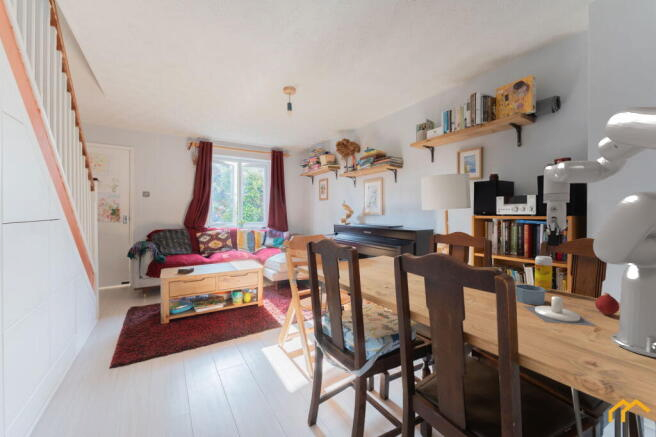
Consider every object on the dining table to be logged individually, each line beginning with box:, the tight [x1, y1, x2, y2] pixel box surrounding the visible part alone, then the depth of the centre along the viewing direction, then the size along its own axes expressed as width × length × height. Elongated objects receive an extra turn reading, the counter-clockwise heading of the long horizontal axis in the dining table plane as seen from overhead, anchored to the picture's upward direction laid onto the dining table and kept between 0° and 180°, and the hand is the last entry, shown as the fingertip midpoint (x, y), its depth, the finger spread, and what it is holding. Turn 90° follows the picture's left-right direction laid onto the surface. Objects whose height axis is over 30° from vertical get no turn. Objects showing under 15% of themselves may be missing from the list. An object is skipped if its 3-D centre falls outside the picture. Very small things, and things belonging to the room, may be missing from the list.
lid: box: [534, 295, 581, 322], centre depth 96 cm, size 12×12×6 cm
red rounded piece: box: [594, 292, 620, 316], centre depth 96 cm, size 6×6×8 cm
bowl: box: [516, 283, 546, 306], centre depth 111 cm, size 10×10×6 cm
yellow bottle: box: [534, 255, 553, 292], centre depth 126 cm, size 6×6×15 cm
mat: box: [523, 305, 597, 327], centre depth 96 cm, size 15×14×1 cm
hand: (555, 244), depth 104 cm, fingers open, 9 cm apart
